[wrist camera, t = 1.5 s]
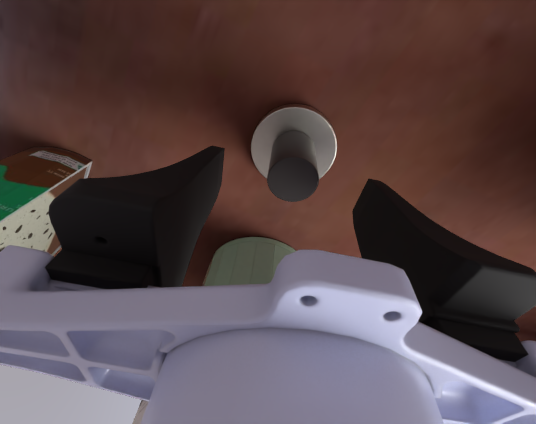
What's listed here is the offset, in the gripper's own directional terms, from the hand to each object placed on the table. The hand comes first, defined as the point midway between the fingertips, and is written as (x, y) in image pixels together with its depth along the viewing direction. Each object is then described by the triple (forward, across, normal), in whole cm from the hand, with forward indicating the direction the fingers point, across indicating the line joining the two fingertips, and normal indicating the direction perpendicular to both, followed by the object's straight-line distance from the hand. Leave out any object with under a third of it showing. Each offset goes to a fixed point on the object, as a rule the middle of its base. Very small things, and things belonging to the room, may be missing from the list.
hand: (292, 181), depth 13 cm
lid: (+4, 0, 0) cm, 4 cm away
